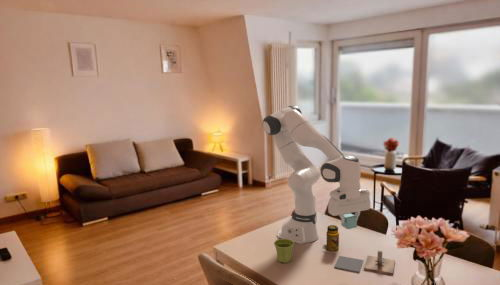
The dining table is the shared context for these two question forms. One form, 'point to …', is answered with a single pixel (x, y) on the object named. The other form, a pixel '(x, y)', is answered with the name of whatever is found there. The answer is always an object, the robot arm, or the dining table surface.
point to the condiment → (332, 240)
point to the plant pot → (284, 249)
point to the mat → (348, 264)
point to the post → (379, 264)
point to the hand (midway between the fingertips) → (349, 221)
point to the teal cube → (350, 221)
